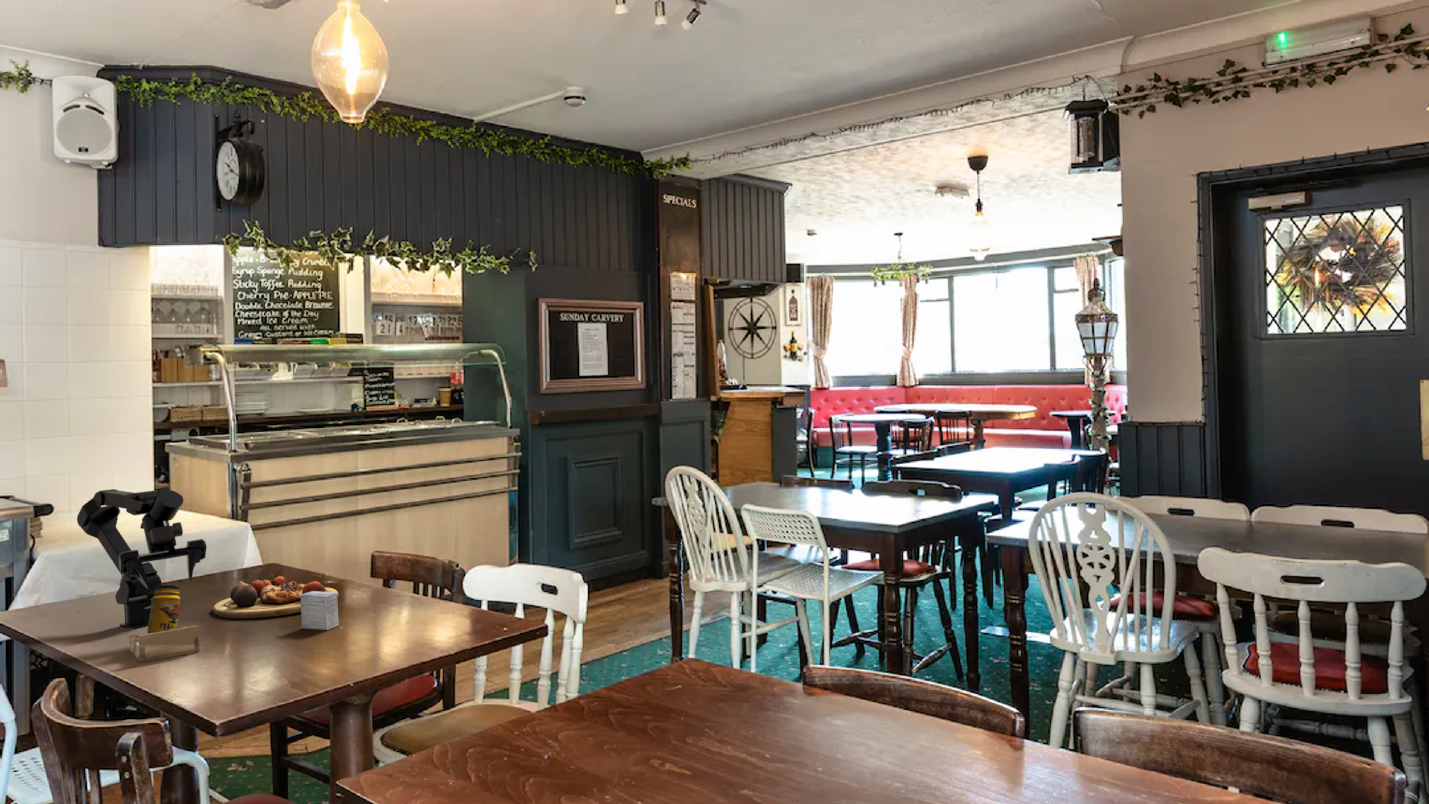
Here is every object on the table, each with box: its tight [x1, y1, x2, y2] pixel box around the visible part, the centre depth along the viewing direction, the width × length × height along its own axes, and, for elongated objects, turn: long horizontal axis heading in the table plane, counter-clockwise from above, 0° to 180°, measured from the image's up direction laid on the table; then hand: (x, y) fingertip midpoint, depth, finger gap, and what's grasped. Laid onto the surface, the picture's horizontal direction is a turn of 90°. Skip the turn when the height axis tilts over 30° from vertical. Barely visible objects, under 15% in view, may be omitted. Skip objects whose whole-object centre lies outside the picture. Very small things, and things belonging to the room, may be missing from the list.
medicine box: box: [300, 591, 339, 631], centre depth 246 cm, size 8×4×9 cm, turn 71°
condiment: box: [134, 584, 181, 638], centre depth 233 cm, size 7×8×12 cm
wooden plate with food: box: [212, 574, 340, 619], centre depth 272 cm, size 32×32×8 cm
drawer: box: [128, 625, 201, 664], centre depth 228 cm, size 13×12×6 cm
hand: (169, 584), depth 239 cm, fingers open, 9 cm apart
